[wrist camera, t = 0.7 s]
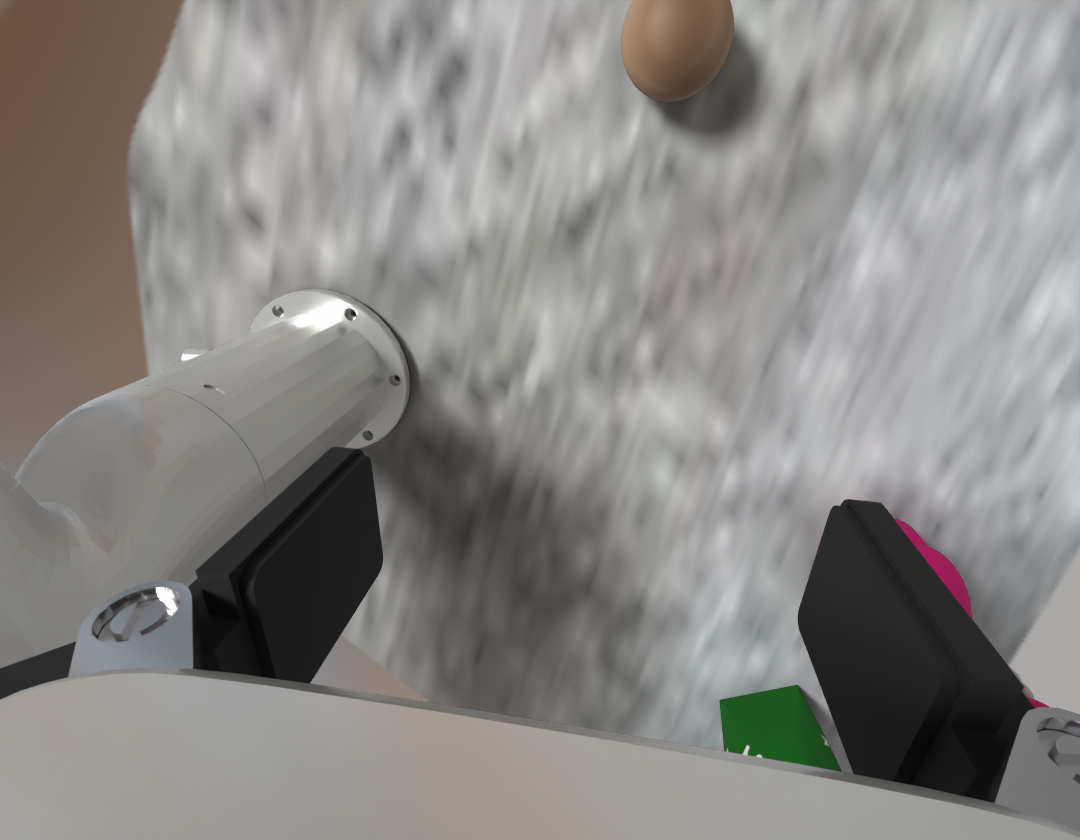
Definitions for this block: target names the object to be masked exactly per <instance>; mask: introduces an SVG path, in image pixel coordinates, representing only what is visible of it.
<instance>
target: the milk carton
mask: <svg viewBox="0 0 1080 840" xmlns="http://www.w3.org/2000/svg"><path fill="white" fill-rule="evenodd" d="M720 710H721V720H722V731H723V742H724V751H725V752H731V753H737V754H743V755H748V756H754V757H760V758H766V759H772V760H778V761H784V762H790V763H795V764H801V765H807V766H813V767H818V768H823V769H829V770H834V771H839V772H842V771H841V769H840V767H839V765H838V763H837V760H836V758H835V756H834V754H833V751H832V749H831V747H830V745H829V743H828V741H827V739H826V738H825V736H824V734H823V732H822V730H821V728H820V726H819V724H818V723H817V721H816V719H815V717H814V715H813V713H812V711H811V709H810V708H809V706H808V704H807V702H806V700H805V698H804V696H803V695H802V693H801V691H800V689H799V687H798V685H795V686H790V687H785V688H780V689H775V690H770V691H765V692H760V693H754V694H749V695H744V696H739V697H734V698H729V699H724V700H720Z"/></svg>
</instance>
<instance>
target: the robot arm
mask: <svg viewBox="0 0 1080 840" xmlns="http://www.w3.org/2000/svg"><path fill="white" fill-rule="evenodd" d="M353 310H354V311H355V313H356V315H355V314H354V312H353ZM181 361H182V363H180V364H178V365H175V366H173V367H170V368H168V369H166V370H163V371H161V372H158V373H156V374H154V375H151V376H149V377H146V378H144V379H141V380H139V381H137V382H135V383H132V384H129V385H127V386H125V387H122V388H120V389H117V390H115V391H112V392H110V393H107V394H105V395H103V396H100V397H98V398H96V399H93V400H91V401H89V402H87V403H85V404H84V405H82V406H80V407H78V408H77V409H75V410H74V411H72V412H71V413H69V414H68V415H67V416H65V417H64V418H62V419H61V420H60V421H59V422H58V423H57V424H56V425H55V426H54V427H53V428H51V430H50V431H48V433H46V434H45V435H44V436H43V437H42V438H41V440H40V441H39V442H38V443H37V445H36V446H35V447H34V449H33V450H32V451H31V453H30V454H29V456H28V457H27V458H26V460H25V461H24V463H23V464H22V466H21V468H20V470H19V471H18V473H17V475H16V476H15V478H13V477H12V475H11V474H10V473H9V472H8V470H7V469H6V468H5V467H4V465H3V464H2V463H1V462H0V840H1080V714H1077V713H1073V712H1070V711H1066V710H1063V709H1059V708H1049V707H1039V708H1034V706H1033V705H1032V704H1031V702H1030V701H1029V700H1028V698H1027V697H1026V696H1025V695H1024V693H1023V692H1022V690H1023V688H1024V686H1023V684H1022V683H1021V682H1020V680H1019V679H1018V678H1017V677H1016V675H1015V674H1014V673H1013V671H1012V670H1011V669H1010V668H1009V666H1008V665H1007V664H1006V662H1005V661H1004V660H1003V659H1002V657H1001V656H1000V655H999V653H998V652H997V651H996V650H995V648H994V647H993V646H992V644H991V643H990V642H989V641H988V639H987V638H986V637H985V635H984V634H983V633H982V632H981V630H980V629H979V628H978V626H977V625H976V624H975V623H974V621H973V620H972V619H971V617H970V616H969V615H968V614H967V612H966V611H965V610H964V608H963V607H962V606H961V604H960V603H959V602H958V601H957V599H956V598H955V597H954V595H953V594H952V593H951V592H950V590H949V589H948V588H947V586H946V585H945V584H944V583H943V581H942V580H941V579H940V577H939V576H938V575H937V574H936V572H935V571H934V570H933V568H932V567H931V566H930V565H929V563H928V562H927V561H926V559H925V558H924V557H923V556H922V554H921V553H920V552H919V550H918V549H917V548H916V547H915V545H914V544H913V543H912V541H911V540H910V539H909V538H908V536H907V535H906V534H905V532H904V531H903V530H902V529H901V527H900V526H899V525H898V523H897V522H896V521H895V519H894V518H893V517H892V516H891V514H890V513H889V512H888V510H887V509H886V508H885V507H884V506H883V505H882V504H881V503H878V502H870V501H860V500H850V499H847V500H844V501H843V503H842V504H841V506H833V507H832V509H831V511H830V513H829V516H828V519H827V523H826V526H825V529H824V532H823V535H822V538H821V541H820V545H819V548H818V551H817V554H816V557H815V560H814V563H813V567H812V570H811V573H810V576H809V579H808V582H807V585H806V589H805V592H804V595H803V598H802V601H801V604H800V607H799V611H798V626H799V630H800V633H801V635H802V638H803V641H804V643H805V646H806V649H807V651H808V654H809V657H810V659H811V662H812V665H813V667H814V670H815V673H816V675H817V678H818V680H819V683H820V686H821V688H822V691H823V694H824V696H825V699H826V702H827V704H828V707H829V710H830V712H831V715H832V718H833V720H834V723H835V726H836V728H837V731H838V734H839V736H840V739H841V741H842V744H843V747H844V749H845V752H846V755H847V757H848V760H849V763H850V765H851V768H852V771H853V773H854V774H850V773H845V772H839V771H834V770H829V769H823V768H818V767H813V766H807V765H801V764H795V763H790V762H784V761H778V760H772V759H766V758H760V757H754V756H748V755H743V754H737V753H731V752H725V751H719V750H713V749H707V748H702V747H696V746H690V745H684V744H678V743H672V742H666V741H661V740H655V739H649V738H643V737H637V736H631V735H625V734H619V733H613V732H607V731H601V730H595V729H589V728H582V727H576V726H570V725H564V724H558V723H552V722H546V721H540V720H534V719H528V718H522V717H516V716H510V715H503V714H497V713H491V712H485V711H479V710H473V709H467V708H461V707H454V706H448V705H442V704H435V703H429V702H423V701H417V700H410V699H404V698H398V697H391V696H385V695H379V694H372V693H366V692H359V691H354V690H347V689H341V688H335V687H328V686H322V685H315V684H310V682H311V681H312V679H313V678H314V676H315V674H316V673H317V671H318V670H319V668H320V667H321V665H322V663H323V662H324V660H325V659H326V657H327V655H328V654H329V652H330V651H331V649H332V647H333V646H334V644H335V643H336V641H337V640H338V638H339V636H340V635H341V633H342V632H343V630H344V628H345V627H346V625H347V624H348V622H349V621H350V619H351V617H352V616H353V614H354V613H355V611H356V609H357V608H358V606H359V605H360V603H361V601H362V600H363V598H364V597H365V595H366V594H367V592H368V590H369V589H370V587H371V586H372V584H373V582H374V581H375V579H376V578H377V576H378V574H379V573H380V570H381V567H382V563H383V552H382V544H381V536H380V528H379V520H378V512H377V504H376V496H375V488H374V480H373V472H372V464H371V460H370V458H369V457H368V456H364V454H363V452H362V450H360V449H358V448H363V447H366V446H369V445H371V444H373V443H375V442H378V441H379V440H380V439H382V438H383V437H384V436H386V435H387V434H388V433H389V432H390V431H391V430H392V429H393V428H394V427H395V426H396V424H397V423H398V421H399V420H400V418H401V417H402V415H403V414H404V411H405V408H406V406H407V403H408V398H409V392H410V377H409V370H408V366H407V362H406V358H405V355H404V353H403V351H402V349H401V346H400V344H399V342H398V341H397V339H396V338H395V336H394V334H393V333H392V331H391V330H390V328H389V327H388V326H387V325H386V324H385V323H384V322H383V321H382V320H381V319H380V318H379V316H378V315H376V314H375V313H374V312H373V311H371V310H370V309H369V308H367V307H366V306H365V305H364V304H362V303H360V302H358V301H356V300H354V299H353V298H351V297H349V296H346V295H343V294H340V293H337V292H334V291H329V290H322V289H305V290H299V291H296V292H292V293H288V294H286V295H284V296H281V297H279V298H277V299H275V300H273V301H272V302H271V303H269V304H268V305H267V306H265V307H264V308H263V309H262V311H261V312H260V313H259V314H258V316H257V317H256V318H255V320H254V322H253V324H252V326H251V329H250V331H249V335H247V336H245V337H243V338H240V339H238V340H235V341H233V342H230V343H228V344H226V345H223V346H221V347H218V348H216V349H208V348H188V349H186V350H185V351H184V353H183V354H182V359H181ZM397 376H398V377H399V378H400V379H398V378H397Z"/></svg>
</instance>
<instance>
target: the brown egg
mask: <svg viewBox="0 0 1080 840" xmlns="http://www.w3.org/2000/svg"><path fill="white" fill-rule="evenodd" d="M733 31H734V17H733V10H732V5H731V2H730V0H633V2H632V3H631V5H630V8H629V10H628V12H627V15H626V18H625V21H624V25H623V29H622V37H621V52H622V58H623V63H624V66H625V69H626V72H627V74H628V76H629V78H630V79H631V81H632V82H633V84H634V85H635V86H636V87H637V88H638V89H639V90H640V91H641V92H642V93H643V94H645V95H647V96H648V97H650V98H653V99H655V100H659V101H665V102H673V101H679V100H683V99H686V98H689V97H691V96H693V95H695V94H697V93H698V92H700V91H701V90H702V89H704V88H705V87H706V86H707V85H708V84H709V83H710V82H711V81H712V80H713V79H714V78H715V77H716V75H717V74H718V72H719V71H720V70H721V68H722V66H723V64H724V62H725V60H726V58H727V56H728V53H729V50H730V47H731V44H732V39H733Z"/></svg>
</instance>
